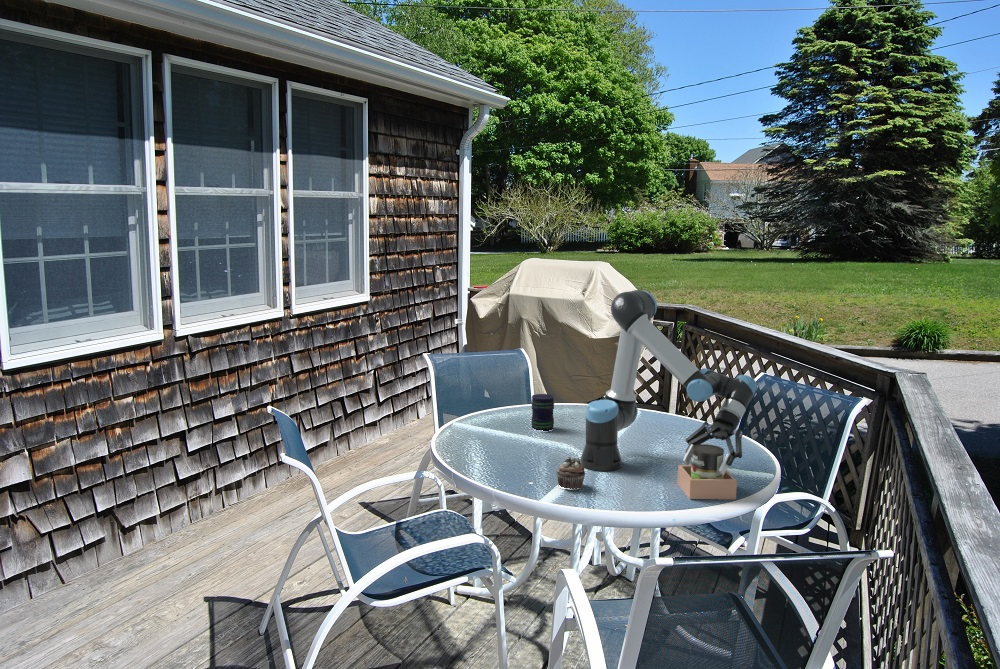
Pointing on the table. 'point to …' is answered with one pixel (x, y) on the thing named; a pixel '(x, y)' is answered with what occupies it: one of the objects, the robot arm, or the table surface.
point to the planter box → (706, 485)
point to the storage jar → (542, 412)
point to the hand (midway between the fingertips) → (702, 467)
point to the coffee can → (706, 461)
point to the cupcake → (571, 473)
